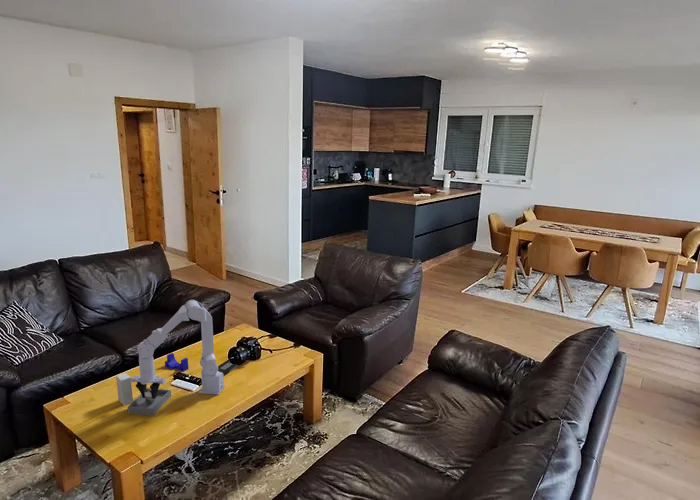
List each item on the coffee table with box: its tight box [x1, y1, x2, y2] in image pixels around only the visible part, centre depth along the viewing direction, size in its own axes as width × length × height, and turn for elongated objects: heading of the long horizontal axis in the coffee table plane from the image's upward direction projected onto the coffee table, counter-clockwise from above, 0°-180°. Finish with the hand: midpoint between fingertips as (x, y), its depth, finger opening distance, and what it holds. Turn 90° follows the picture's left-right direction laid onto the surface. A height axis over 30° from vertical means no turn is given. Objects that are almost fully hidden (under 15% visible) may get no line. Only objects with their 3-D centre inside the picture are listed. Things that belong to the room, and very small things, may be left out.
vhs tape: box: [218, 359, 239, 377], centre depth 228 cm, size 8×14×2 cm, turn 157°
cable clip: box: [164, 352, 189, 372], centre depth 227 cm, size 12×4×6 cm, turn 60°
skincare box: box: [115, 372, 134, 406], centre depth 196 cm, size 6×4×12 cm
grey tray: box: [127, 388, 172, 416], centre depth 195 cm, size 11×15×3 cm
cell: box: [144, 387, 155, 403], centre depth 194 cm, size 4×4×6 cm
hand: (149, 397), depth 195 cm, fingers closed on cell, 4 cm apart
